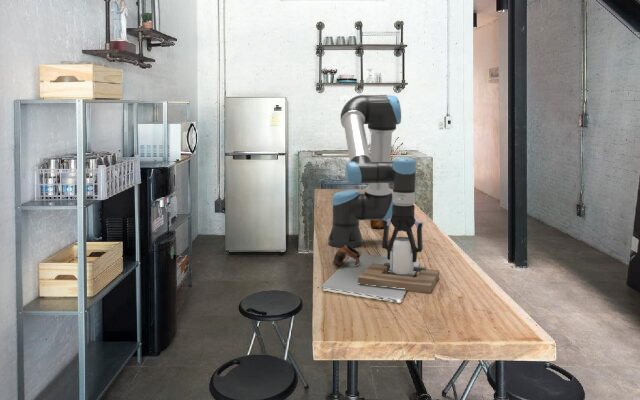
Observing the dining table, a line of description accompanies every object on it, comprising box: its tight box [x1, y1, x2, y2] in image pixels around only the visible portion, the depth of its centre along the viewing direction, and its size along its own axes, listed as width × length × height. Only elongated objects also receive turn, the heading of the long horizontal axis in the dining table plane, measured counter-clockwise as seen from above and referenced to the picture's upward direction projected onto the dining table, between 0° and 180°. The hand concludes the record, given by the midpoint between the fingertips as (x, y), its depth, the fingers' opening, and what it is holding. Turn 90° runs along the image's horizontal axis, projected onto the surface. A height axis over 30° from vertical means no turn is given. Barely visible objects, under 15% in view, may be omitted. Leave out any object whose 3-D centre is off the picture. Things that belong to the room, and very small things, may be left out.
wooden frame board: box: [357, 263, 440, 294], centre depth 180 cm, size 18×24×2 cm
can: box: [392, 236, 412, 276], centre depth 182 cm, size 6×6×12 cm
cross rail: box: [383, 262, 427, 273], centre depth 188 cm, size 2×15×3 cm, turn 68°
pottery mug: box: [332, 245, 361, 267], centre depth 199 cm, size 12×10×8 cm
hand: (401, 269), depth 183 cm, fingers closed on can, 6 cm apart
